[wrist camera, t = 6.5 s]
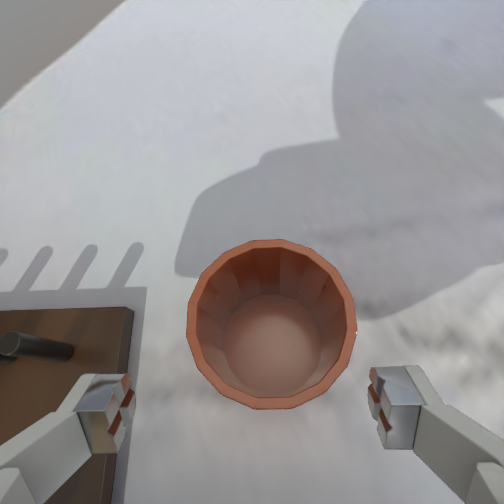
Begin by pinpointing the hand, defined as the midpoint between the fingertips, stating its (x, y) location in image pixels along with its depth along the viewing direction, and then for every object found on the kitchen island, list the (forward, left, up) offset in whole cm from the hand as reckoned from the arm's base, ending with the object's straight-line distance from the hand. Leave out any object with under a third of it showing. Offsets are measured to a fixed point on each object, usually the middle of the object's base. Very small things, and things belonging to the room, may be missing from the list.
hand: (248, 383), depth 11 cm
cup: (-1, -2, -7) cm, 7 cm away
